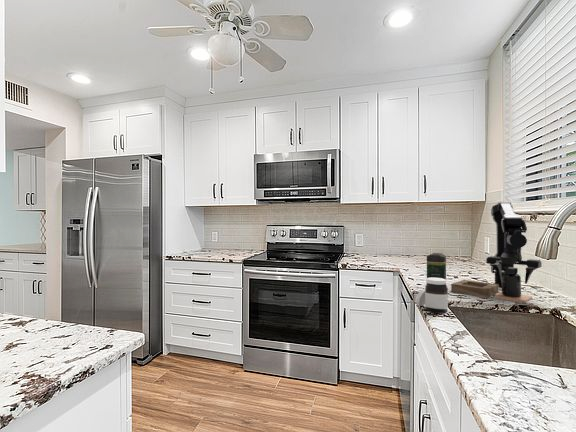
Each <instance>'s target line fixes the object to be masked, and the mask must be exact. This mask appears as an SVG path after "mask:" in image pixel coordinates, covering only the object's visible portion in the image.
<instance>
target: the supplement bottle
mask: <svg viewBox="0 0 576 432" xmlns="http://www.w3.org/2000/svg"><path fill="white" fill-rule="evenodd" d="M518 270H519V269H518V268H517V267H515V266H514V267H504V272H505V273H504V274H502V286H501V292H502V294H503V295H504V296H508V297H521V295H522V277H521V275H520V274H519V272H518Z"/></svg>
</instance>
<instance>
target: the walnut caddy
mask: <svg viewBox="0 0 576 432" xmlns="http://www.w3.org/2000/svg"><path fill="white" fill-rule="evenodd" d="M450 289H451V290H450V291H451V292H452V293H457V292H458V293H457V294H463V293H465V294H464V295H469V294H470V295H469V296H475V295H476V296H477V297H483V298H489V297H492V296H495V295H497V294H499V293H500V286H499V284H494V283H492V282H491V283H490V282H484V281H483V282H482V281H475V280H469V279H462V280H460V281H456V282H453V283H451V284H450ZM476 296H475V297H476Z"/></svg>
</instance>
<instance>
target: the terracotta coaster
mask: <svg viewBox="0 0 576 432" xmlns="http://www.w3.org/2000/svg"><path fill="white" fill-rule="evenodd" d="M493 298H494V299H495V298H496V299H499V300H500V299H501V300H506V301H512V300H513V302H518V301H519V302H520V303H524V302H526V303H527V302H529V301H531V300H532V299H533V296H532V295H527V294H521V297H508V296H504V295H503V294H502V291H501V292H498V293H496V294H494V295H493ZM528 300H529V301H528Z"/></svg>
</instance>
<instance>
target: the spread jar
mask: <svg viewBox="0 0 576 432" xmlns="http://www.w3.org/2000/svg"><path fill="white" fill-rule="evenodd" d="M425 280H426V284H425V287H424V288H422V289H421V290H420V291H419V292H418V293H417V296H416V298H415V303H416V304H417V305H418V306H420V307H421V306H422V307H423V306H424V305H425V309H426V311H429V312H432V313H439V314H440V313H441V314H442V313H446V312H448V308H449V307H448V306H449V295H448V294H449V293H448V292H449V291H448V286H447V278H446V279H443V278H427V277H426V279H425Z"/></svg>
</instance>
